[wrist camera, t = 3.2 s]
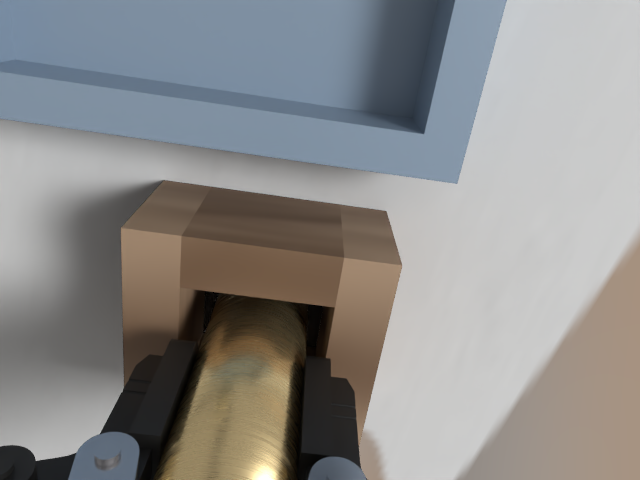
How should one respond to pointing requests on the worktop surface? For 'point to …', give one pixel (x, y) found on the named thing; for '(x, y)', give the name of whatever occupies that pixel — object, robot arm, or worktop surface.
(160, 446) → the robot arm
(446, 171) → the tray
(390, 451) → the worktop surface
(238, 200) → the bracket
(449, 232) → the worktop surface
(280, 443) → the pin
